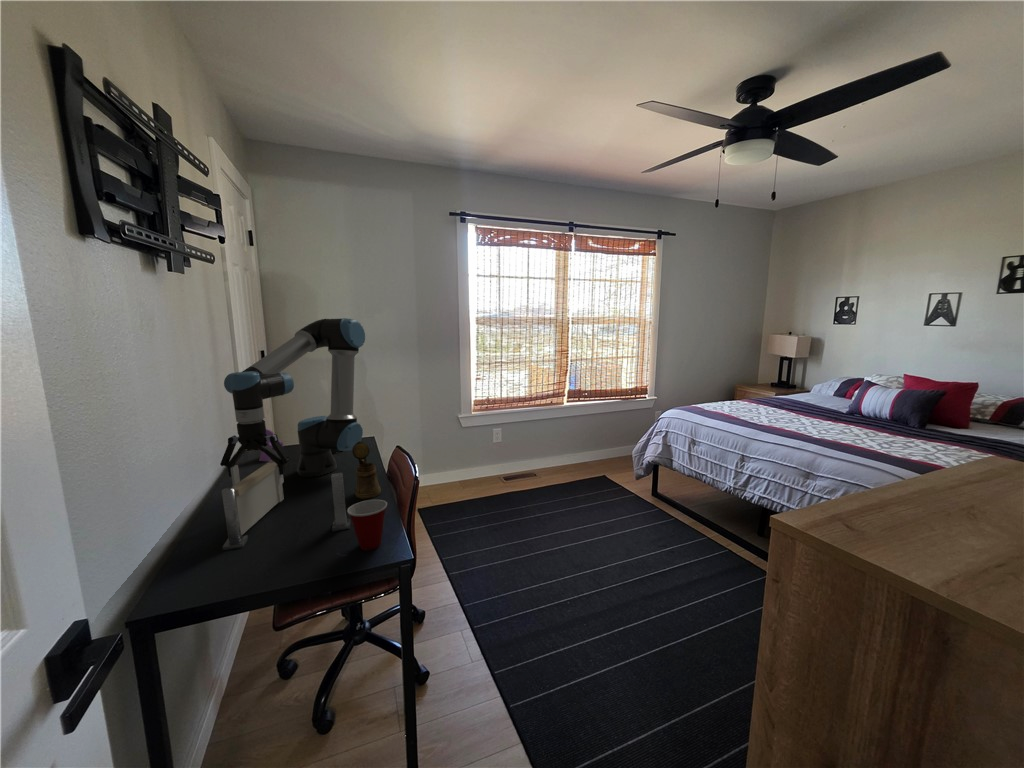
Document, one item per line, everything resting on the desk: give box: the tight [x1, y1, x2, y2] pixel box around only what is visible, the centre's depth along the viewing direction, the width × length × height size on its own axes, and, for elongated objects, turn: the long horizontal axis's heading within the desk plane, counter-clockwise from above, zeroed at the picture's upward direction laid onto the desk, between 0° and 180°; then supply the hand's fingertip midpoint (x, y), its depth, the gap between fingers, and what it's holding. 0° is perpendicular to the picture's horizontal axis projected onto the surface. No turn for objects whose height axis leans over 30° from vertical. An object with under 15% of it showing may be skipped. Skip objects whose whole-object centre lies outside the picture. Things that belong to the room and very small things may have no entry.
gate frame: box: [221, 472, 351, 551], centre depth 120 cm, size 5×34×17 cm, turn 110°
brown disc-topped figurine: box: [351, 441, 382, 500], centre depth 149 cm, size 9×14×18 cm, turn 33°
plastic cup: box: [346, 499, 388, 551], centre depth 115 cm, size 11×11×12 cm
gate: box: [231, 459, 285, 536], centre depth 129 cm, size 3×24×14 cm, turn 4°
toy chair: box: [258, 428, 284, 463], centre depth 187 cm, size 8×9×15 cm
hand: (258, 484), depth 129 cm, fingers open, 13 cm apart
